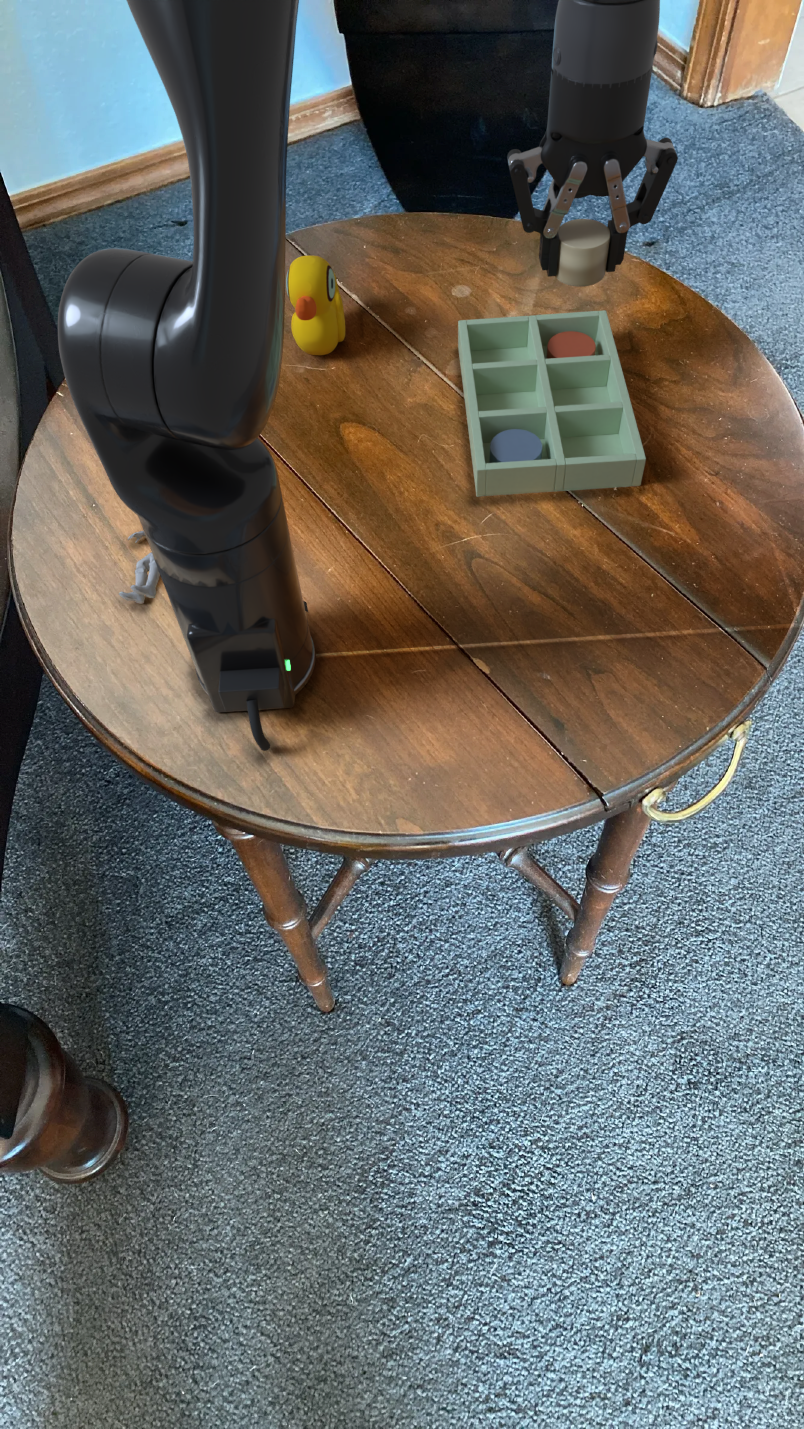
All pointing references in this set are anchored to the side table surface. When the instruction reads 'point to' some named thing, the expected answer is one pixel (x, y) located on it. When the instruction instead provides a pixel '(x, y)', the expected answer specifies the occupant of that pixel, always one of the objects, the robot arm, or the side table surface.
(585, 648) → the side table surface
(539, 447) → the slate token
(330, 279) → the duckling
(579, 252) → the cream token
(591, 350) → the terracotta token
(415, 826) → the side table surface
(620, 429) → the green rectangular divided tray
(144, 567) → the soldier figure
